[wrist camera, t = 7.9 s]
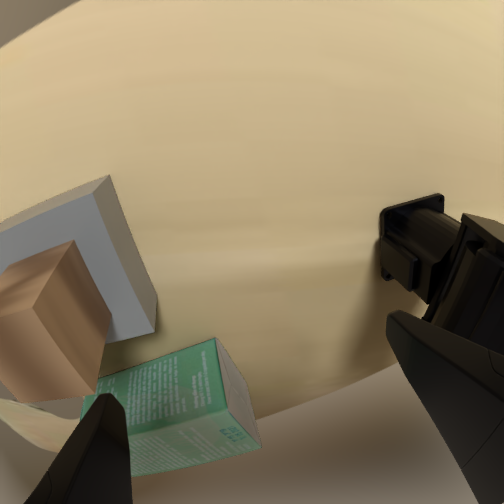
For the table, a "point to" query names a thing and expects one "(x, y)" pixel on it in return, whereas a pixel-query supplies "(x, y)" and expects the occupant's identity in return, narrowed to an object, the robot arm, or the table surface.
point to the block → (51, 326)
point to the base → (90, 250)
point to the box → (183, 409)
